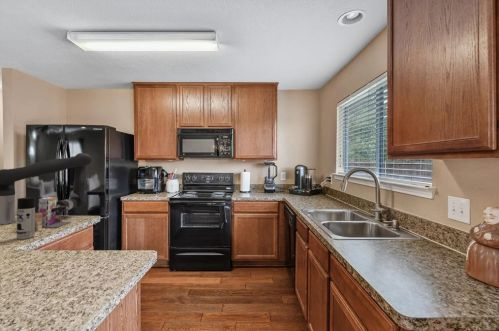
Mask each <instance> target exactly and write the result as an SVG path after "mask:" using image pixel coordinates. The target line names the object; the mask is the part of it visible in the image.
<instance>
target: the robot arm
mask: <svg viewBox="0 0 499 331" xmlns="http://www.w3.org/2000/svg"><path fill="white" fill-rule="evenodd" d="M91 162H92V156H90V155H89V154H88V153H83V152H79V153H76V154H75V155H74V156H71V157H64V158H54V159H53V158H52V159H47V160H43V161H38V162H35V163H31V164H29V165H25V166H22V167H15V168H2V169H0V226H2V225H1V224H3V225H9V223H10V224H13V223H15V222H16V182H18V181H22V180H25V179H30V178H36V177H42V176H47V175H50V174H55V173H59V172H62V171H65V170H69V169H72V168H74V181H73V188H72V193H73V194H74V195H77V196H71V197H70V198H69V199H63V200H62V199H61V200H59V201H58V200H57V204H56V208H52V209H51V212H55V211H56V213H58V214H59V213H64V212H67V211H70V210H72V209H75V208H83V207H85V206H86V204H87V197H86V194H85V191H86V166H88V165H89V164H91Z"/></svg>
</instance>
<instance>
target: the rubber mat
mask: <svg viewBox="0 0 499 331" xmlns="http://www.w3.org/2000/svg"><path fill="white" fill-rule="evenodd" d="M70 223H71V221H62V222H57V223H54V224H52V225H49V226H46V227H44V229H59V228H60V227H63V226H65V225H68V224H70Z"/></svg>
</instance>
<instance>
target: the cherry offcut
mask: <svg viewBox="0 0 499 331" xmlns="http://www.w3.org/2000/svg"><path fill="white" fill-rule="evenodd" d="M40 221H42V213H38V212H35V223H36V222H40Z"/></svg>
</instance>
